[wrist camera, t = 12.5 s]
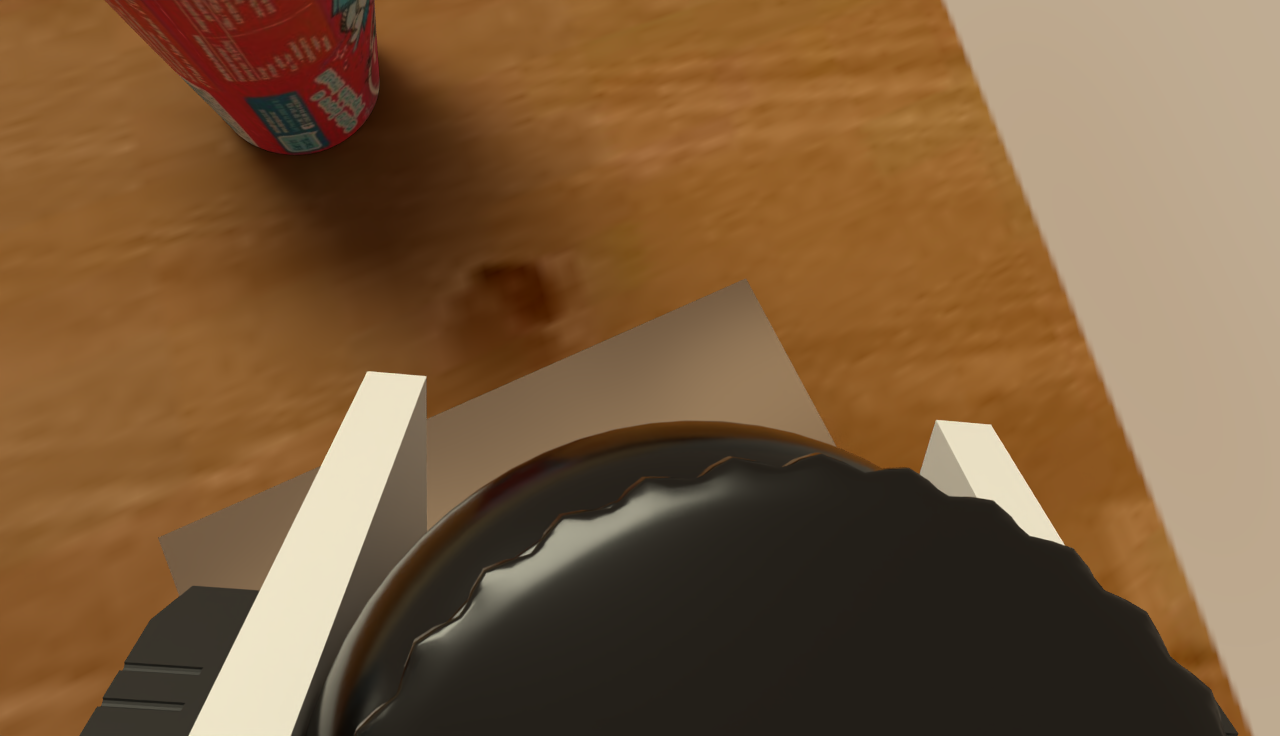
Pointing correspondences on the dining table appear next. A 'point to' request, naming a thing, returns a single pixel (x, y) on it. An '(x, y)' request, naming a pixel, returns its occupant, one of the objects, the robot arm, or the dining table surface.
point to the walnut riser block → (546, 423)
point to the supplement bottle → (745, 608)
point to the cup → (270, 63)
